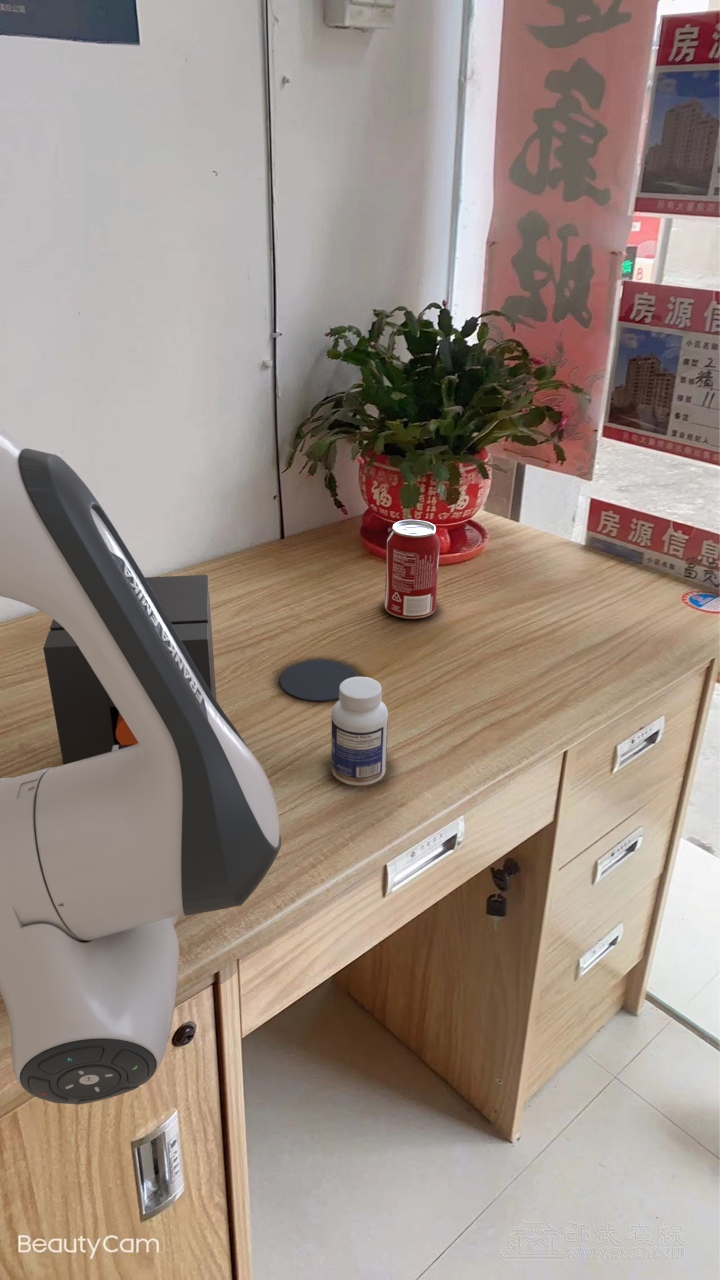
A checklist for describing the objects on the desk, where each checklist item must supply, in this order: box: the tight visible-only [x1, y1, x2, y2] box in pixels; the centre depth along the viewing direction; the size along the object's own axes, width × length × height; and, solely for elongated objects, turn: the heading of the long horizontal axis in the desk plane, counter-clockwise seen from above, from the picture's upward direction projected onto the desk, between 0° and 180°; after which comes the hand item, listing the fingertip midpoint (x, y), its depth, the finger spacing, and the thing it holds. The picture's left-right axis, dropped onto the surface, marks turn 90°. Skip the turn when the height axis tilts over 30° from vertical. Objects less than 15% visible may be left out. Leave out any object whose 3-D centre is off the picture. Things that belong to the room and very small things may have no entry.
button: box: [116, 712, 138, 745], centre depth 75 cm, size 3×3×3 cm
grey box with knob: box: [42, 574, 217, 765], centre depth 81 cm, size 13×13×18 cm
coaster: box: [279, 659, 359, 703], centre depth 101 cm, size 9×9×1 cm
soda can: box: [384, 519, 441, 620], centre depth 115 cm, size 7×7×12 cm
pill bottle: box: [330, 676, 389, 786], centre depth 84 cm, size 5×5×10 cm
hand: (132, 750), depth 72 cm, fingers closed
